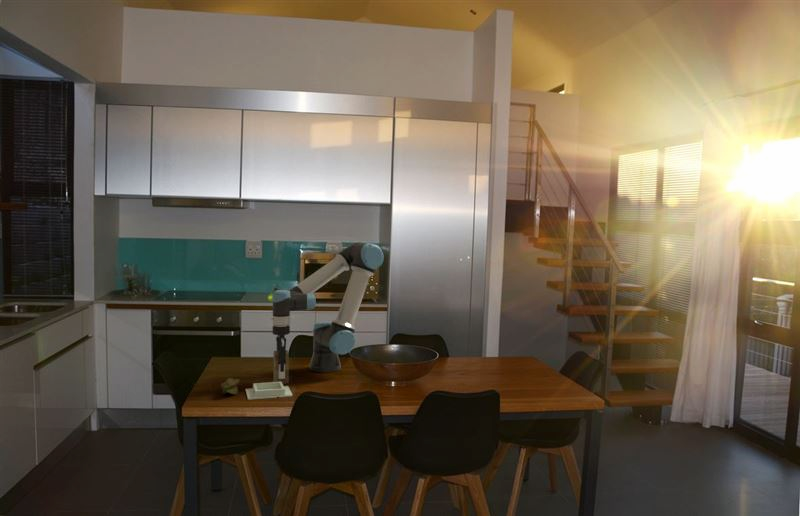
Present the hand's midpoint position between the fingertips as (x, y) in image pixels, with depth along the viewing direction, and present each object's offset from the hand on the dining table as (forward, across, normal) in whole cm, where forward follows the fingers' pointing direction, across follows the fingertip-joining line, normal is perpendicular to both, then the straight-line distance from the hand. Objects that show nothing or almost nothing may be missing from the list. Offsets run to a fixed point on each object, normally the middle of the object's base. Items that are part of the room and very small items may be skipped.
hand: (280, 376), depth 274 cm
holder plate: (+3, +15, -7) cm, 17 cm away
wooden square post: (+3, 0, 0) cm, 3 cm away
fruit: (+3, +11, -23) cm, 25 cm away
